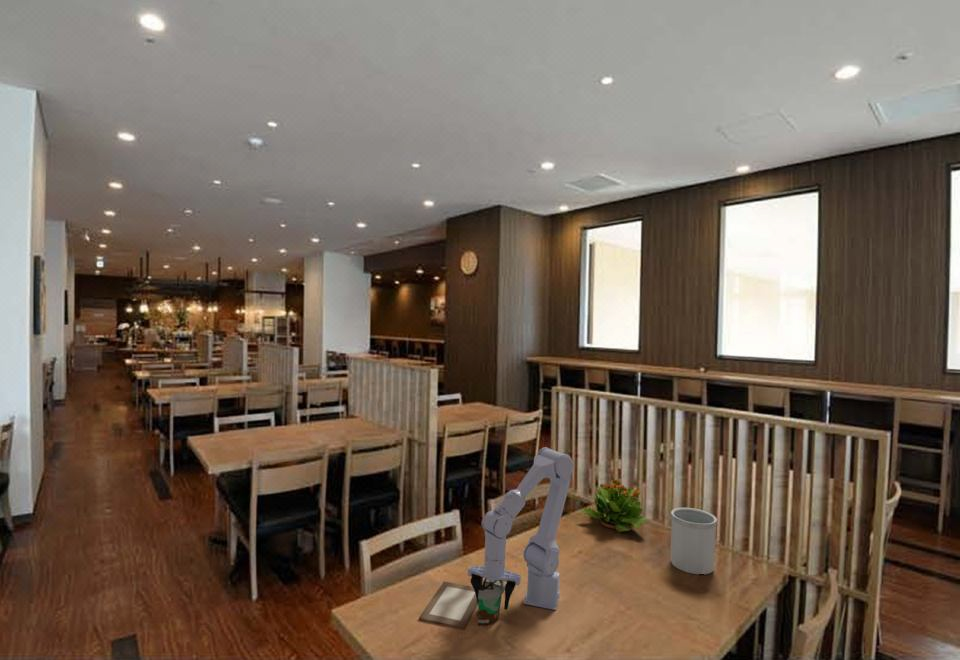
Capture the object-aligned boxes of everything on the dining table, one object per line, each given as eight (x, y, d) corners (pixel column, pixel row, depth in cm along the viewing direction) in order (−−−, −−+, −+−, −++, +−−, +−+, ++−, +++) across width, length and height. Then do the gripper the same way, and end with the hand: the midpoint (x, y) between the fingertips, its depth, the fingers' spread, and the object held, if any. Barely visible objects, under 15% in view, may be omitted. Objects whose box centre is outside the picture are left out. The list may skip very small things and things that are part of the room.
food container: (499, 632, 131) (501, 594, 131) (476, 628, 133) (478, 591, 132) (506, 606, 144) (508, 572, 143) (485, 603, 145) (487, 569, 145)
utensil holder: (667, 569, 170) (670, 518, 169) (668, 551, 183) (671, 504, 183) (715, 580, 164) (718, 527, 164) (713, 560, 178) (715, 511, 177)
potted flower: (581, 531, 197) (583, 487, 197) (579, 509, 221) (581, 470, 220) (647, 539, 193) (649, 494, 193) (638, 515, 217) (640, 475, 216)
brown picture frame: (484, 591, 151) (484, 589, 151) (464, 629, 132) (464, 627, 132) (443, 583, 155) (443, 581, 155) (418, 619, 135) (418, 617, 135)
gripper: (465, 558, 136) (463, 607, 136) (517, 567, 132) (515, 618, 132) (472, 547, 143) (470, 594, 143) (522, 555, 139) (520, 603, 139)
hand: (492, 604), depth 138 cm, fingers open, 7 cm apart
